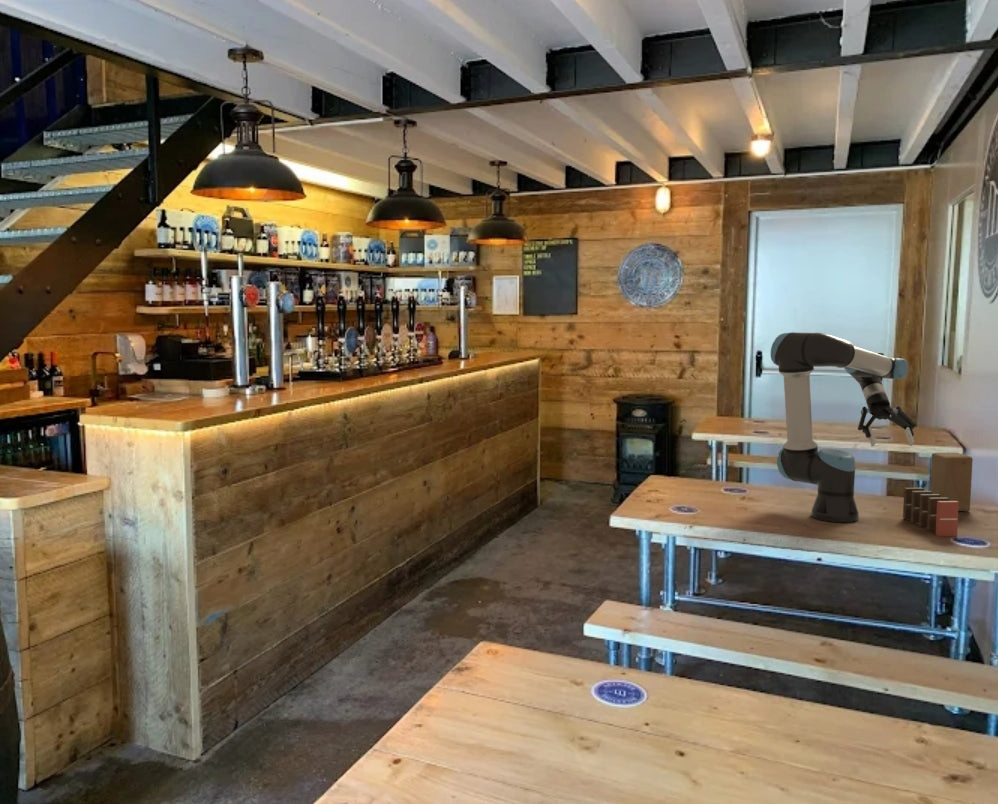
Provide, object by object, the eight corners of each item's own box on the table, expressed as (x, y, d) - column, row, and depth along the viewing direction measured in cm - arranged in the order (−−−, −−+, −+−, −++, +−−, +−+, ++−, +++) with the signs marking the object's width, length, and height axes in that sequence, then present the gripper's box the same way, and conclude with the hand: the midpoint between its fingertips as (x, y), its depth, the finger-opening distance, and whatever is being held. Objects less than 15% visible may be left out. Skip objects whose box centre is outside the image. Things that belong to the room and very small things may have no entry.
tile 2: (910, 522, 267) (911, 490, 265) (928, 522, 267) (929, 490, 266) (913, 524, 265) (914, 492, 264) (930, 523, 265) (932, 491, 264)
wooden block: (971, 512, 280) (974, 456, 278) (942, 512, 280) (945, 457, 278) (955, 505, 290) (958, 452, 288) (928, 505, 290) (930, 452, 288)
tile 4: (926, 530, 257) (928, 497, 256) (945, 530, 257) (946, 497, 256) (929, 531, 255) (931, 498, 254) (948, 531, 255) (949, 498, 254)
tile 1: (902, 519, 272) (904, 487, 271) (920, 518, 272) (921, 487, 271) (905, 520, 270) (906, 488, 269) (922, 520, 270) (924, 488, 269)
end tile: (935, 534, 252) (937, 501, 251) (954, 534, 252) (955, 500, 251) (938, 536, 250) (940, 502, 249) (957, 536, 250) (958, 502, 249)
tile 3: (918, 526, 262) (919, 494, 261) (936, 526, 262) (937, 493, 261) (921, 527, 260) (922, 495, 259) (939, 527, 260) (940, 495, 259)
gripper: (906, 404, 301) (924, 449, 287) (839, 405, 302) (854, 450, 288) (913, 391, 295) (932, 437, 281) (845, 392, 296) (861, 438, 283)
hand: (893, 444), depth 285 cm, fingers open, 13 cm apart
